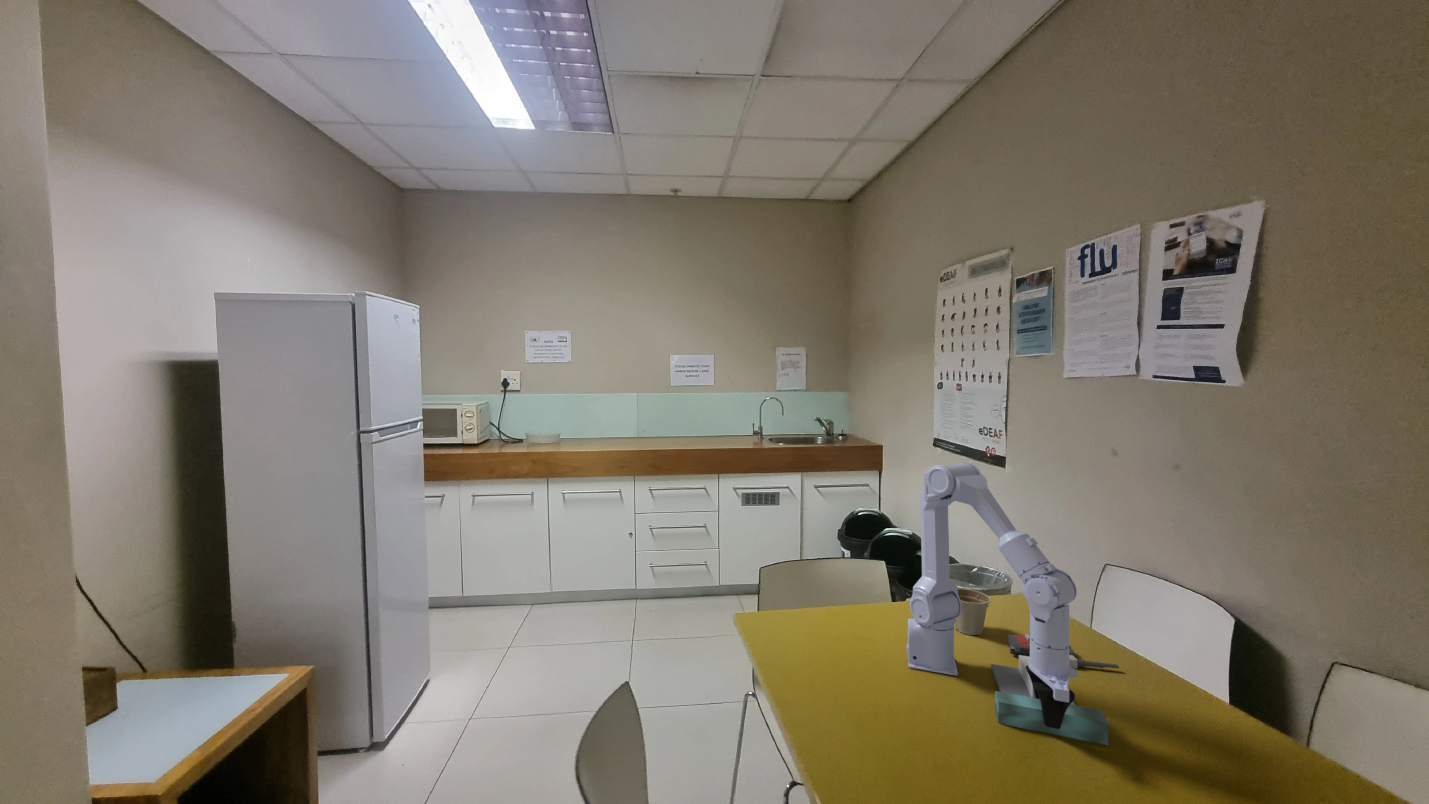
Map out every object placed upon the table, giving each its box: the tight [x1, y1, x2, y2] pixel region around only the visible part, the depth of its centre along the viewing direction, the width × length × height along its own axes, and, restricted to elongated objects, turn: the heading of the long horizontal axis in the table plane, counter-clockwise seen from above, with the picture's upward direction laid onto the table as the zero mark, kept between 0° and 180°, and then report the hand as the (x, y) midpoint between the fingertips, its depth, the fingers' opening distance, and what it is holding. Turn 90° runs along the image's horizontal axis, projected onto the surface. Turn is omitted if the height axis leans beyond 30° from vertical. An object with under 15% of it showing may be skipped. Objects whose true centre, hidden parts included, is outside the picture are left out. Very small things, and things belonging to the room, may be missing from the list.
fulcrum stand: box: [990, 655, 1076, 705], centre depth 98 cm, size 12×12×4 cm
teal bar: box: [994, 690, 1109, 746], centre depth 87 cm, size 16×4×4 cm, turn 70°
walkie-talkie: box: [1007, 633, 1120, 670], centre depth 110 cm, size 9×4×20 cm
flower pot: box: [954, 588, 992, 636], centre depth 123 cm, size 9×9×9 cm
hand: (1048, 719), depth 87 cm, fingers closed on teal bar, 4 cm apart
